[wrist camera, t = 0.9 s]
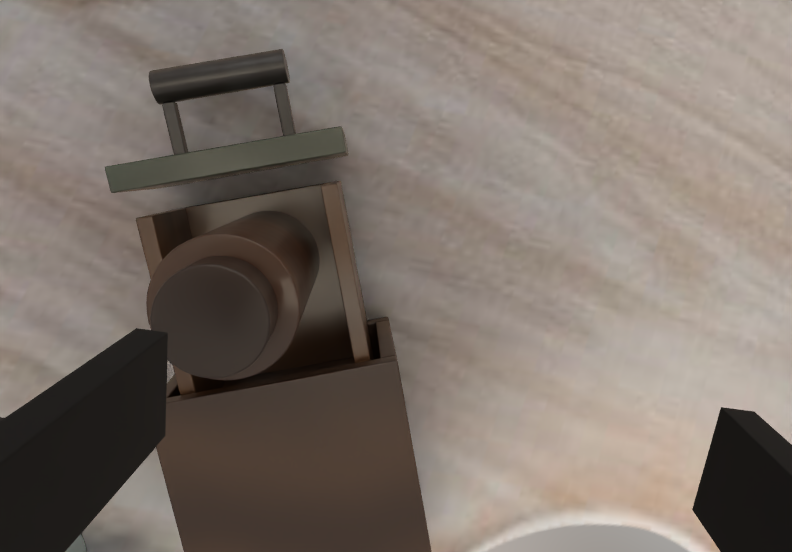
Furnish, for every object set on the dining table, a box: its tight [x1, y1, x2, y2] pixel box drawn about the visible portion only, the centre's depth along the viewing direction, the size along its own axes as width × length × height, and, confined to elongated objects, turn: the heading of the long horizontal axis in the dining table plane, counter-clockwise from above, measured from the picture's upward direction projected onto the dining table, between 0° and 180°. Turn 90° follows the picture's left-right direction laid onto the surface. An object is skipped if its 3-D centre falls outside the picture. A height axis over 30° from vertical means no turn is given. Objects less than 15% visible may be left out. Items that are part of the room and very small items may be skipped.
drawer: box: [105, 49, 374, 396], centre depth 31 cm, size 18×11×7 cm, turn 10°
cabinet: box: [156, 317, 431, 552], centre depth 34 cm, size 15×12×9 cm
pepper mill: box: [146, 211, 319, 380], centre depth 27 cm, size 6×6×14 cm
